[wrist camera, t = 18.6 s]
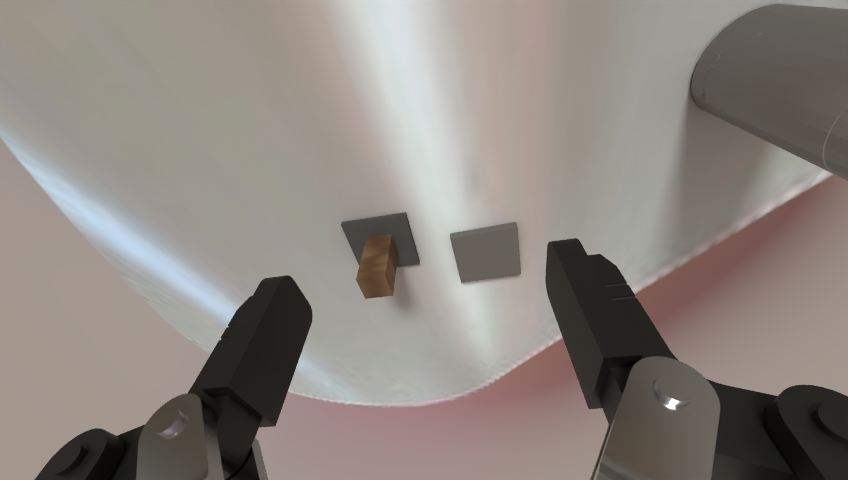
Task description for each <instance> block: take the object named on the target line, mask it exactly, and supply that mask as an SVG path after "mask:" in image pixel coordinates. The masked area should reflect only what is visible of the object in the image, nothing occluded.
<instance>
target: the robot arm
mask: <svg viewBox="0 0 848 480" xmlns="http://www.w3.org/2000/svg"><path fill="white" fill-rule="evenodd" d="M691 93H692V96H693V99H694V101H695V103H696V104H697V105H698V107H700V108H702V109H703V110H705V111H707V112H709V113H711V114H713V115H715V116H717V117H719V118H721V119H723V120H725V121H727V122H729V123H731V124H733V125H735V126H737V127H739V128H741V129H743V130H745V131H747V132H749V133H751V134H753V135H755V136H757V137H759V138H761V139H763V140H765V141H767V142H769V143H771V144H773V145H775V146H777V147H780V148H782V149H784V150H786V151H788V152H790V153H792V154H794V155H796V156H798V157H800V158H802V159H804V160H806V161H808V162H810V163H812V164H814V165H816V166H818V167H820V168H822V169H824V170H826V171H828V172H831V173H833V174H835V175H837V176H839V177H841V178H843V179H845V180H847V181H848V9H836V8H826V7H813V6H800V5H785V4H774V5H769V6H764V7H761V8H759V9H756V10H754V11H751V12H749V13H747V14H746V15H744V16H742V17H740V18H739V19H737V20H736V21H734V22H733V23H732V24H730V25H729V26H728V27H726V28H725V29H724V30H723V31H722V32H721V33H720V34H719V35H718V36H717V37H716V38H715V39H714V40H713V41H712V42H711V44H710V45H709V46H708V47H707V49H706V50H705V51H704V53H703V55H702V56H701V58H700V60H699V61H698V63H697V66H696V68H695V71H694V73H693V77H692V82H691ZM546 289H547V293H548V297H549V300H550V303H551V306H552V309H553V311H554V314H555V317H556V320H557V322H558V325H559V328H560V331H561V334H562V336H563V339H564V342H565V345H566V347H567V350H568V353H569V356H570V358H571V361H572V364H573V367H574V370H575V372H576V375H577V378H578V380H579V383H580V386H581V389H582V392H583V394H584V397H585V400H586V403H587V406H588V408H589V409H596V408H603V410H604V413H605V416H606V418H607V421H608V423H609V425H608V428H607V432H606V434H605V437H604V440H603V443H602V446H601V449H600V452H599V455H598V458H597V461H596V464H595V466H594V469H593V472H592V476H591V478H590V480H848V397H847V396H845V395H843V394H841V393H838V392H836V391H833V390H830V389H826V388H823V387H818V386H813V385H796V386H792V387H789V388H787V389H785V390H784V391H783V392H782V393H781V394H779V395H778V396H774V395H769V394H765V393H760V392H755V391H750V390H745V389H741V388H735V387H731V386H726V385H722V384H719V383H716V382H713V381H710V380H708V379H706V378H704V377H703V376H702V375H701V374H700V373H699V372H697V371H696V370H695V369H693V368H692V367H690V366H688V365H687V364H684V363H683V362H680V361H679V360H678V359H677V358H676V357H675V356H674V355H673V354H672V353H671V351H670V350H669V348H668V346H667V345H666V343H665V342H664V340H663V339H662V337H661V336H660V334H659V332H658V331H657V329H656V328H655V326H654V324H653V323H652V321H651V320H650V318H649V316H648V315H647V314H646V312H645V310H644V309H643V307H642V305H641V304H640V303H639V301H638V299H636V298H635V294H634V293H633V291H632V290H631V288H630V287H629V285H627V283H626V280H625V279H624V277H623V276H622V274H621V272H620V271H619V269H618V268H617V266H616V265H614V264H613V263H612V262H610V261H609V260H607V259H606V258H605V257H603V256H602V255H601V254H596V255H587V253H586V252H585V250H584V248H583V246H582V244H581V243H580V241H579V240H578V239H577V238H574V239H567V240H559V241H552V242H549V243H548V246H547V262H546ZM311 323H312V309H311V306H310V304H309V302H308V301H307V299H306V298H305V296H304V295H303V293H302V292H301V290H300V289H299V287H298V286H297V284H296V283H295V281H294V280H293V278H292V277H290V276H279V277H272V278H265V279H263V280H262V281H261V282H260V284H259V286H258V288H257V289H256V291H255V293H254V295H253V296H250V297H249V298H248V299H247V300H246V301H245V302H244V303H243V304H242V305H241V306H240V308H239V309H238V310H237V311H236V313H235V314H234V316H233V318H232V319H231V321H230V323H229V324H228V326H229V327H228V328H226V330H225V331H224V333H223V335H222V336H221V341H218V343H217V345H216V347H215V348H214V350H213V352H212V353H211V355H210V357H209V359H208V360H207V362H206V364H205V365H204V367H203V369H202V371H201V372H200V374H199V376H198V377H197V379H196V381H195V382H194V384H193V386H192V387H191V389H190V390H189V392H188V393H187V394H182V395H180V396H177V397H175V398H173V399H171V400H170V401H168V402H167V403H165V404H164V405H163V406H162V407H160V408H159V409H158V410H157V411H156V412H155V413H154V414H153V415H152V417H151V418H150V419H149V421H148V422H147V423H146V424H145V425H143V426H141V427H138V428H135V429H133V430H131V431H128V432H126V433H123V434H120V435H118V436H116V435H113V434H111V433H109V432H107V431H105V430H103V429H92V430H89V431H86V432H84V433H82V434H80V435H78V436H77V437H75V438H74V439H72V440H71V441H69V442H68V443H67V444H66V445H64V446H63V447H62V448H61V449H60V450H59V451H58V452H57V453H56V454H55V455H54V456H53V457H52V458H51V459H50V460H49V462H48V463H47V464H46V465H45V467H44V468H43V470H42V471H41V472H40V473H39V475H38V476H37V477H36V479H35V480H268V477H267V473H266V469H265V465H264V461H263V457H262V453H261V449H260V445H259V442H258V440H257V439H256V438H255V436H256V433H257V431H258V428H259V427H270V426H276V423H277V420H278V417H279V414H280V412H281V409H282V406H283V403H284V400H285V397H286V394H287V392H288V389H289V386H290V383H291V380H292V377H293V375H294V372H295V369H296V366H297V363H298V360H299V357H300V355H301V352H302V349H303V346H304V343H305V340H306V337H307V335H308V332H309V329H310V326H311Z"/></svg>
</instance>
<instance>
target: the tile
mask: <svg viewBox="0 0 848 480" xmlns="http://www.w3.org/2000/svg"><path fill="white" fill-rule="evenodd" d="M450 239H451V243H452V247H453V251H454V255H455V259H456V263H457V267H458V271H459V275H460V279H461V283H463V282H470V281H477V280H484V279H490V278H497V277H504V276H511V275H518V274H521V267H520V254H519V241H518V228H517V224H516V222H513V223H508V224H502V225H497V226H491V227H485V228H480V229H474V230H468V231H463V232H457V233H451V234H450Z"/></svg>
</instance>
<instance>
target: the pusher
mask: <svg viewBox="0 0 848 480" xmlns="http://www.w3.org/2000/svg"><path fill="white" fill-rule="evenodd" d="M397 258H398V251H397V248H396V245H395V242H394V239H393V236H392V234H388V235H381V236H374V237H367V238H366V242H365V246H364V250H363V254H362V258H361V262H360V266H359V270H358V274H357V278H356V280H357V282H358V284H359V286H360V289H361V291H362V293H363V295H364V297H365V299H367V298H376V297H384V296H393V289H394V282H395V274H396V266H397Z"/></svg>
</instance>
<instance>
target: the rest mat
mask: <svg viewBox="0 0 848 480" xmlns="http://www.w3.org/2000/svg"><path fill="white" fill-rule="evenodd" d="M341 226H342V228H343V231H344V233H345V235H346V237H347V239H348V242H349V244H350V246H351V248H352V251H353V253H354V255H355V257H356V259H357V262H358V264H359V266H360V262H361V258H362V254H363V250H364V246H365V242H366V238H367V237H374V236H381V235H388V234H392V236H393V239H394V242H395V245H396V248H397V251H398V258H397V266H396V267H399V266H407V265H415V264H419V263H420V261H419V257H418V254H417V250H416V247H415V243H414V240H413V236H412V233H411V229H410V225H409V222H408V218H407V215H406V213H399V214H393V215H386V216H379V217H373V218H366V219H360V220H353V221H347V222H342V223H341Z"/></svg>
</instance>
